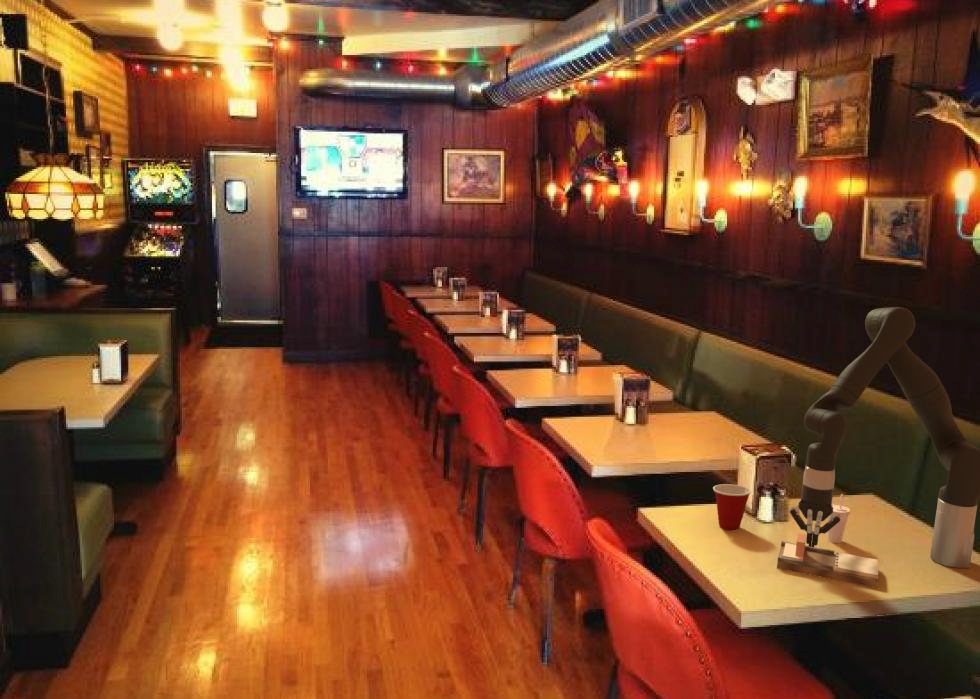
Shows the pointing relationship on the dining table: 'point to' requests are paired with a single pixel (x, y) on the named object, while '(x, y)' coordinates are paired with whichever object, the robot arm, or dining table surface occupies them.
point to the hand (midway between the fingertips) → (811, 545)
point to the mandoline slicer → (832, 565)
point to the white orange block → (795, 548)
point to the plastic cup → (731, 504)
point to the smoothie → (838, 530)
